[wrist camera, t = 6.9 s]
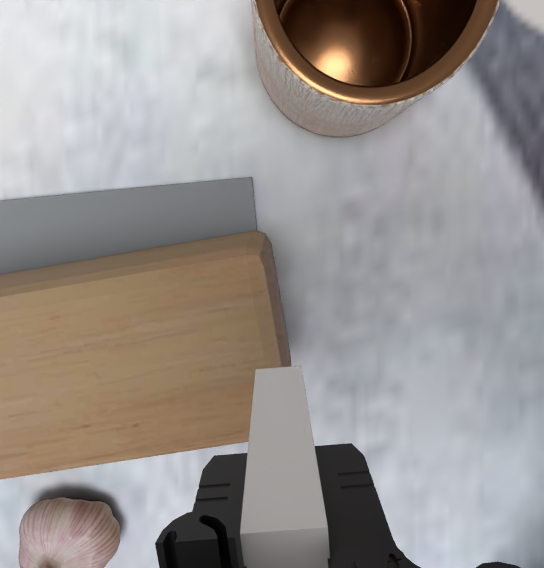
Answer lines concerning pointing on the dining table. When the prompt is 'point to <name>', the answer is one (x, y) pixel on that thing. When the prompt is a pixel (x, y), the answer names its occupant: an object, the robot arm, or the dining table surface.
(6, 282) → the wooden block
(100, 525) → the garlic bulb
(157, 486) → the dining table surface
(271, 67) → the planter
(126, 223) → the mat
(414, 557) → the dining table surface
